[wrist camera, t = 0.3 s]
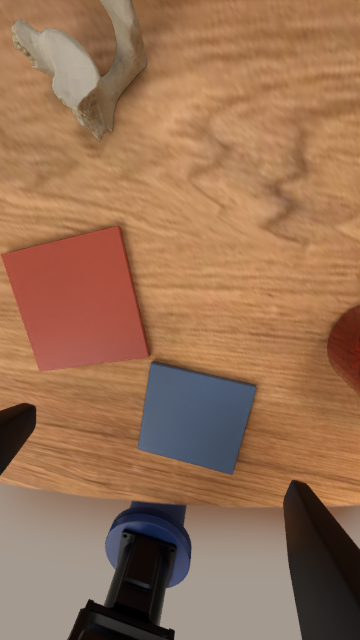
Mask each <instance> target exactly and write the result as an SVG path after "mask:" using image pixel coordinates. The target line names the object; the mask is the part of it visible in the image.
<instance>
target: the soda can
mask: <svg viewBox="0 0 360 640" xmlns="http://www.w3.org/2000/svg"><path fill="white" fill-rule="evenodd" d="M327 355H328V358H329V362H330V364H331V365H332V367H333V369H334V370H335V372H336V373H337V374H338V375H339V376H340V377H341V378H342V379H343V380H344V381H345V382H346V383H347V384H348V385H349V386H350V387H351V388H352V389H353V390H354V391H355V392H356V393H357V394H358V395H359V396H360V306H358V307H356V308H354V309H352V310H350V311H349V312H348V313H346V314H345V315H343V316H342V317H341V318H340V319H339V320H338V322H337V323H336V324H335V326H334V327H333V329H332V330H331V333H330V335H329V338H328V343H327Z"/></svg>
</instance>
